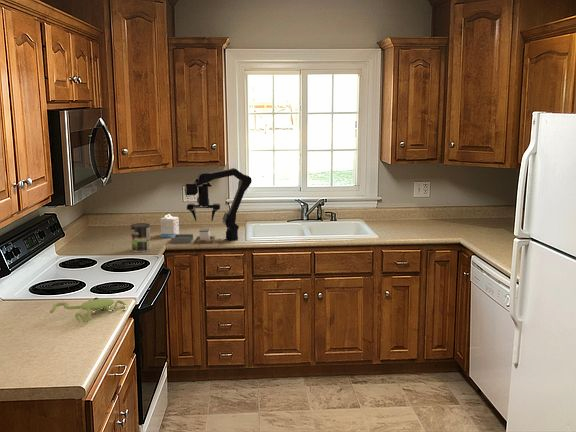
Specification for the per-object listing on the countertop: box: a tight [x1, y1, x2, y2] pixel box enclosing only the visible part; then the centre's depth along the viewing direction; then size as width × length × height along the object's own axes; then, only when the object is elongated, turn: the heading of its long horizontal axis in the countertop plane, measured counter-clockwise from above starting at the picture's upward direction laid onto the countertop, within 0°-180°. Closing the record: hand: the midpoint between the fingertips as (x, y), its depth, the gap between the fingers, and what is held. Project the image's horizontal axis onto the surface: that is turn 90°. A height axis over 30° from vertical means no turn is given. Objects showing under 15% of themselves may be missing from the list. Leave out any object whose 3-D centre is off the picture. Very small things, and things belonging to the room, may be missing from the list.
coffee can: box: [130, 222, 152, 253], centre depth 337 cm, size 10×10×14 cm
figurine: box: [49, 297, 127, 323], centre depth 238 cm, size 18×27×6 cm
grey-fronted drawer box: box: [198, 227, 211, 240], centre depth 357 cm, size 5×7×7 cm
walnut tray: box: [194, 235, 216, 244], centre depth 357 cm, size 10×12×2 cm
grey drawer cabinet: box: [170, 233, 194, 244], centre depth 357 cm, size 11×11×4 cm
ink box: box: [160, 213, 180, 239], centre depth 370 cm, size 9×8×13 cm
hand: (204, 221), depth 355 cm, fingers open, 9 cm apart
